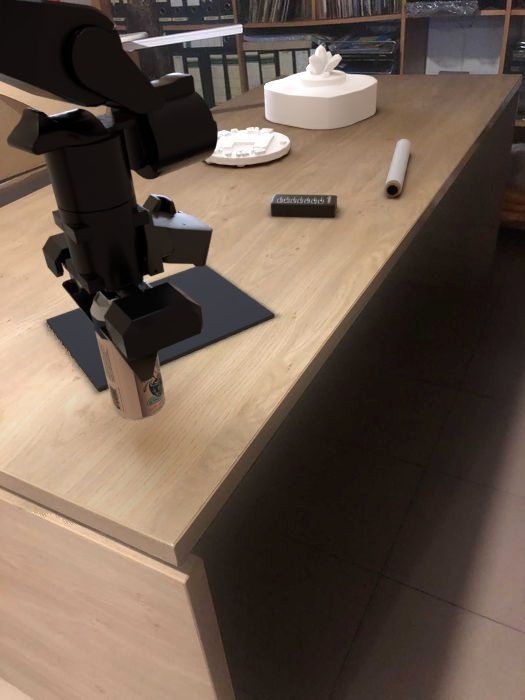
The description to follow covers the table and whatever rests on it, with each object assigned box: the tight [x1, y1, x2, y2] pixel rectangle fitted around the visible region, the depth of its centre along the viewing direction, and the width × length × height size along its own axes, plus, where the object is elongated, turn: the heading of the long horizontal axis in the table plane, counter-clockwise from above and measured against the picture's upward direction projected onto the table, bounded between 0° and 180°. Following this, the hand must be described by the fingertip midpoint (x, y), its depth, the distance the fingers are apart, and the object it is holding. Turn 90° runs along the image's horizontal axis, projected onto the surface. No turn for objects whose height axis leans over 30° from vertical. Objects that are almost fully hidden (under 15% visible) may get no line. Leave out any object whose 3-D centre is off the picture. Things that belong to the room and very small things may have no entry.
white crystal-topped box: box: [263, 44, 378, 131], centre depth 149 cm, size 25×25×16 cm
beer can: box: [91, 292, 166, 421], centre depth 52 cm, size 5×5×12 cm
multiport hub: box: [270, 193, 338, 219], centre depth 102 cm, size 4×11×2 cm, turn 79°
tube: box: [384, 138, 412, 198], centre depth 114 cm, size 3×3×25 cm
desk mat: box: [45, 264, 275, 392], centre depth 77 cm, size 24×18×1 cm
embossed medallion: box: [204, 126, 291, 168], centre depth 130 cm, size 20×20×3 cm
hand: (134, 365), depth 53 cm, fingers closed on beer can, 5 cm apart
